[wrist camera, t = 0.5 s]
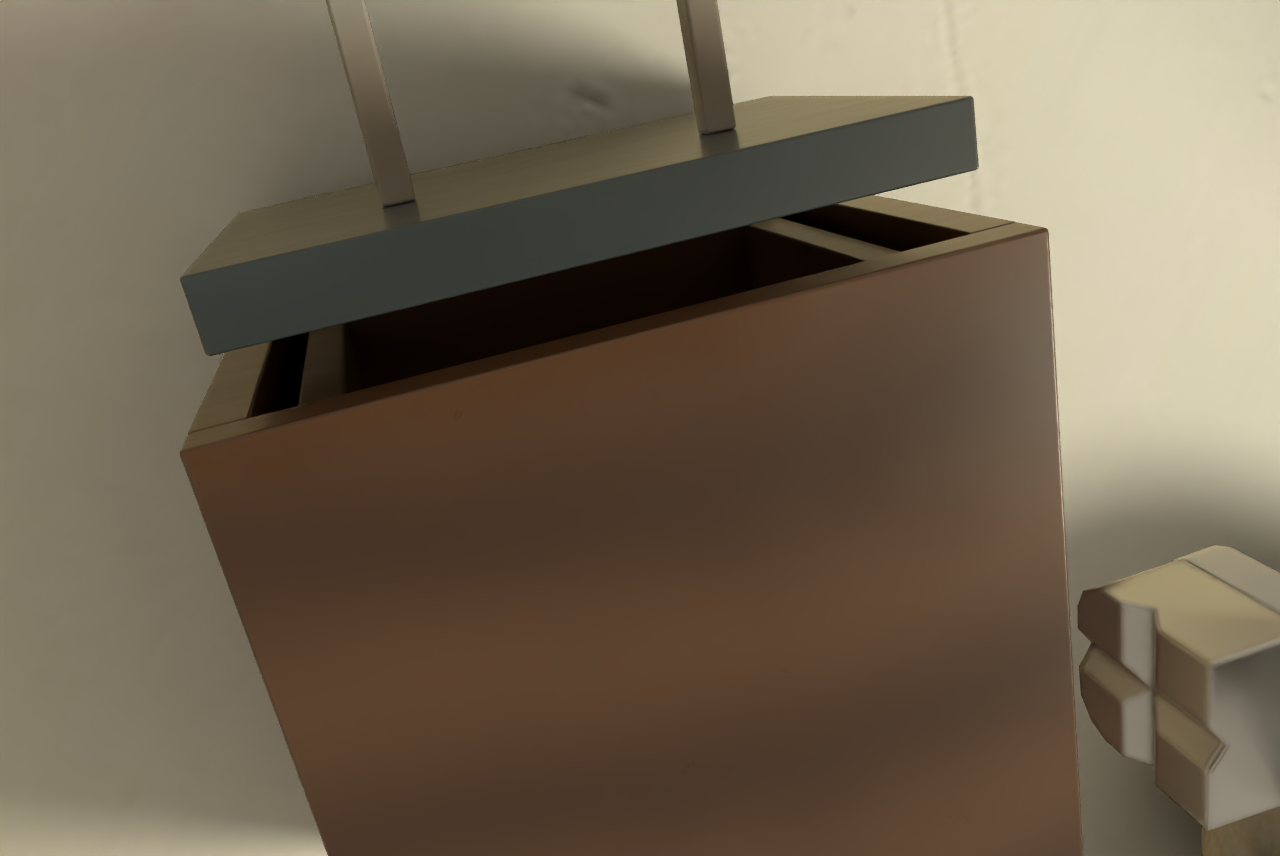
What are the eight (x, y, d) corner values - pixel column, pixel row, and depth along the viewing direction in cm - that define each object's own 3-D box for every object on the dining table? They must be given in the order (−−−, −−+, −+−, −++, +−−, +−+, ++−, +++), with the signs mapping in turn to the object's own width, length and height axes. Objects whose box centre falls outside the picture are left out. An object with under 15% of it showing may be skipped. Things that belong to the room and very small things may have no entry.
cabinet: (245, 307, 25) (177, 452, 15) (790, 179, 27) (1050, 226, 17) (420, 840, 30) (458, 1211, 20) (862, 692, 32) (1090, 955, 23)
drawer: (160, -27, 21) (45, -104, 13) (739, -129, 24) (947, -248, 15) (412, 756, 28) (440, 1029, 20) (844, 617, 30) (1029, 810, 22)
